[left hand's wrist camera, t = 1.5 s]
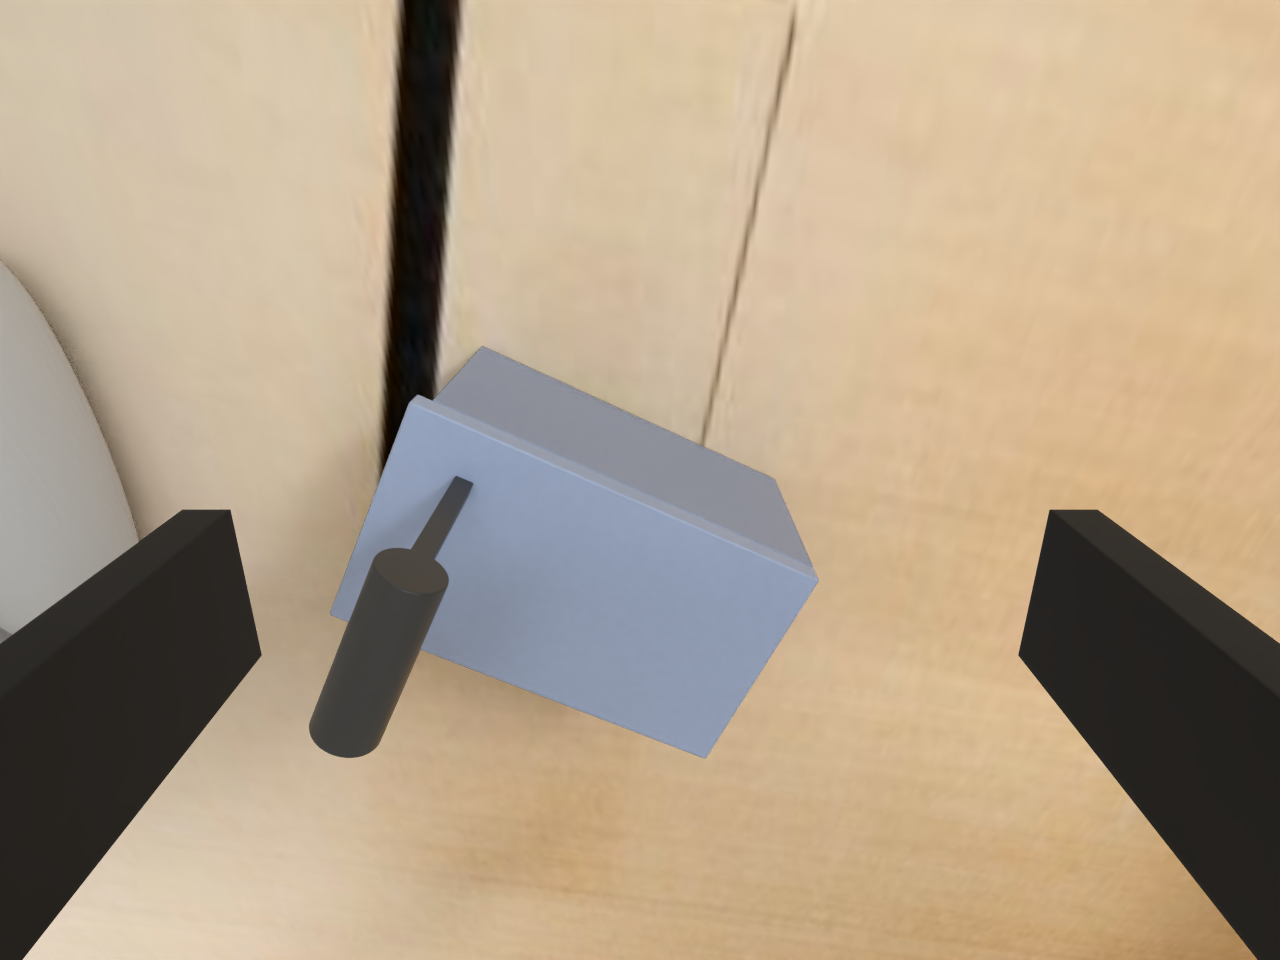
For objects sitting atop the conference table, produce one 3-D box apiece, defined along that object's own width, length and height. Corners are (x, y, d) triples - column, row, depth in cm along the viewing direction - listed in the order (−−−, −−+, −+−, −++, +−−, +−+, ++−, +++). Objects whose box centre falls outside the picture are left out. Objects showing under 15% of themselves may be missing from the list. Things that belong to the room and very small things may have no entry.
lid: (338, 601, 31) (222, 766, 22) (417, 393, 27) (317, 491, 19) (703, 742, 33) (725, 938, 25) (814, 567, 30) (882, 723, 21)
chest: (415, 511, 39) (352, 605, 31) (482, 345, 36) (432, 399, 28) (690, 624, 42) (703, 742, 33) (775, 479, 39) (813, 566, 30)
